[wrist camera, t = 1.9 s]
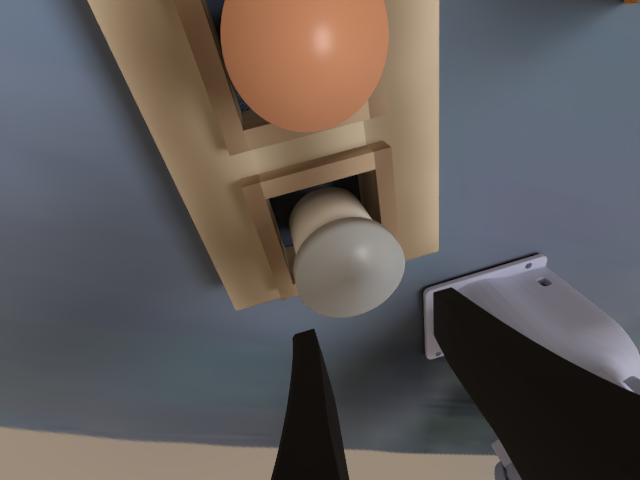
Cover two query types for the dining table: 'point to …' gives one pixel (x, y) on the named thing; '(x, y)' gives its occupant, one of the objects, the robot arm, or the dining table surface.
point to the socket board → (279, 138)
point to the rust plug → (304, 57)
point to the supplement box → (632, 1)
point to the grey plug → (342, 254)
